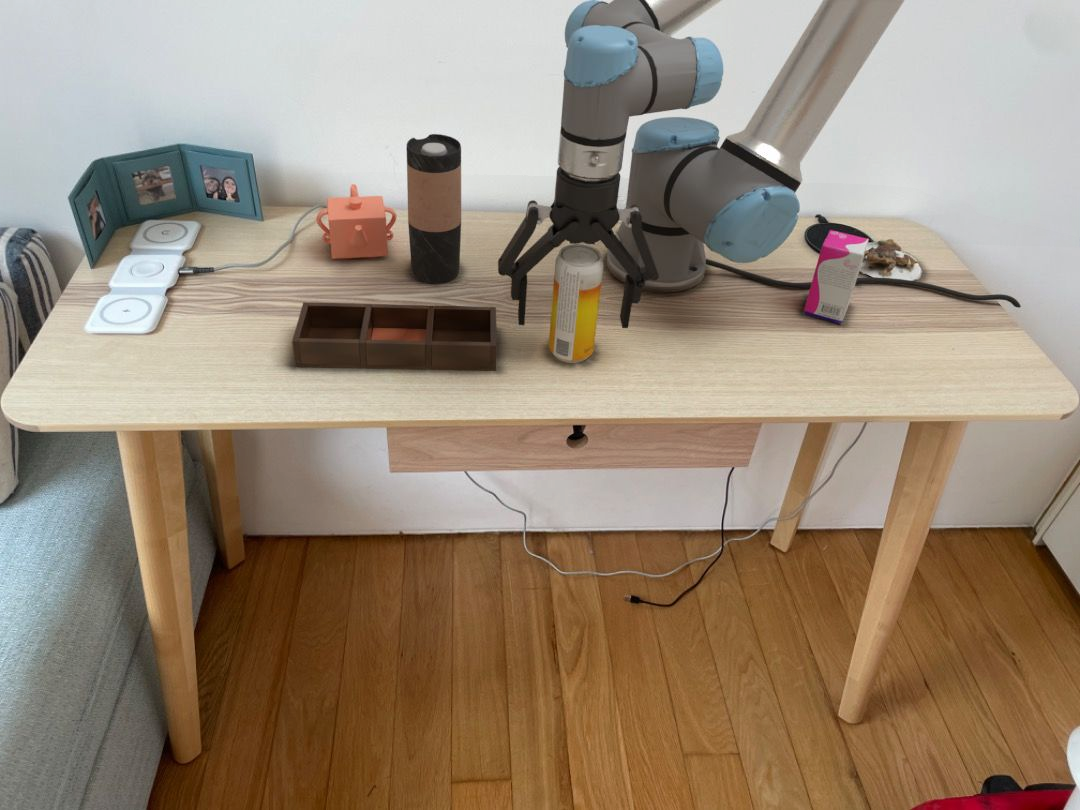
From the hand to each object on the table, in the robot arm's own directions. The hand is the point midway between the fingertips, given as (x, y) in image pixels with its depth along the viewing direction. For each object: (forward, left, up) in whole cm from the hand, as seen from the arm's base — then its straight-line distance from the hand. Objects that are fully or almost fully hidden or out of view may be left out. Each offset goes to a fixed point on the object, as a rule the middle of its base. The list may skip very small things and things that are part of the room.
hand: (572, 321), depth 119 cm
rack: (+23, 0, -5) cm, 23 cm away
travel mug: (+19, -20, -5) cm, 28 cm away
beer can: (0, 0, -5) cm, 5 cm away
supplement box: (-39, -12, -5) cm, 41 cm away
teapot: (+31, -26, -5) cm, 41 cm away
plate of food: (-53, -26, -5) cm, 59 cm away
